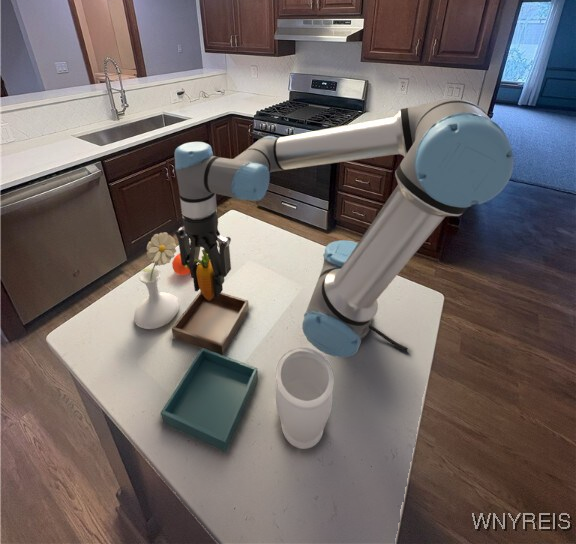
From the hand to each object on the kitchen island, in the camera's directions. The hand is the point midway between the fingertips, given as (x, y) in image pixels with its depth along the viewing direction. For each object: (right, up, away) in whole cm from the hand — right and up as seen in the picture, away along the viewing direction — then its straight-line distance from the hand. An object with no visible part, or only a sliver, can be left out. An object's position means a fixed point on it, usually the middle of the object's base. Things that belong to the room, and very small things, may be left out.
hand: (208, 290), depth 78 cm
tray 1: (0, -11, +4) cm, 12 cm away
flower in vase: (-15, -9, +7) cm, 19 cm away
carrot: (0, -3, +1) cm, 4 cm away
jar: (+23, -20, -16) cm, 34 cm away
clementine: (-13, -4, +21) cm, 25 cm away
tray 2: (+4, -18, -12) cm, 22 cm away
